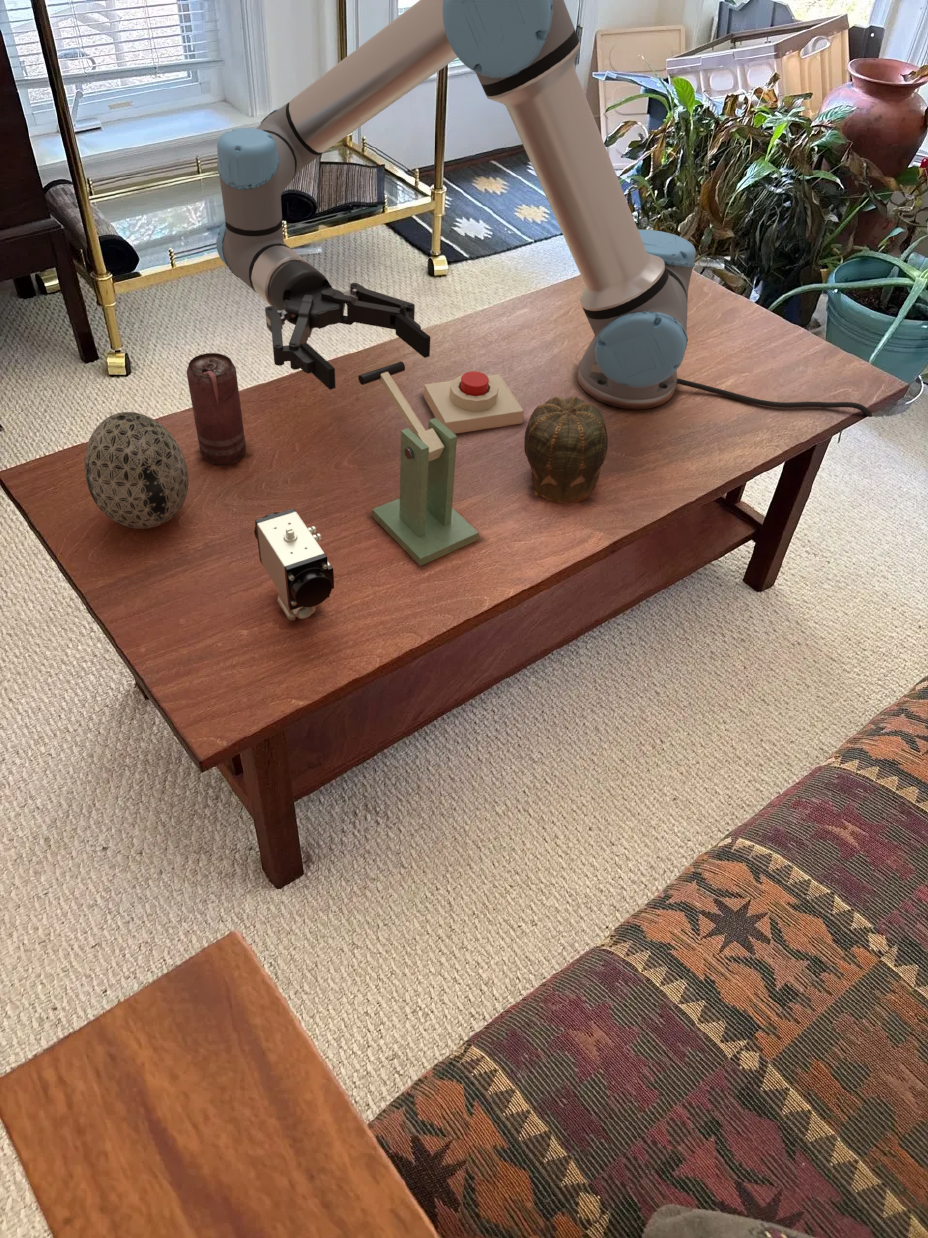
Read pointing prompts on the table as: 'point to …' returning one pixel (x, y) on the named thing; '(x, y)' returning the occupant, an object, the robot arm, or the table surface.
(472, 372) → the button
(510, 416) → the control box
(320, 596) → the pneumatic valve
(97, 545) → the table surface
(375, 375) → the lever
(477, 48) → the robot arm
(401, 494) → the bracket
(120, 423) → the decorative egg
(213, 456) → the can
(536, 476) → the dark green ribbed dome
